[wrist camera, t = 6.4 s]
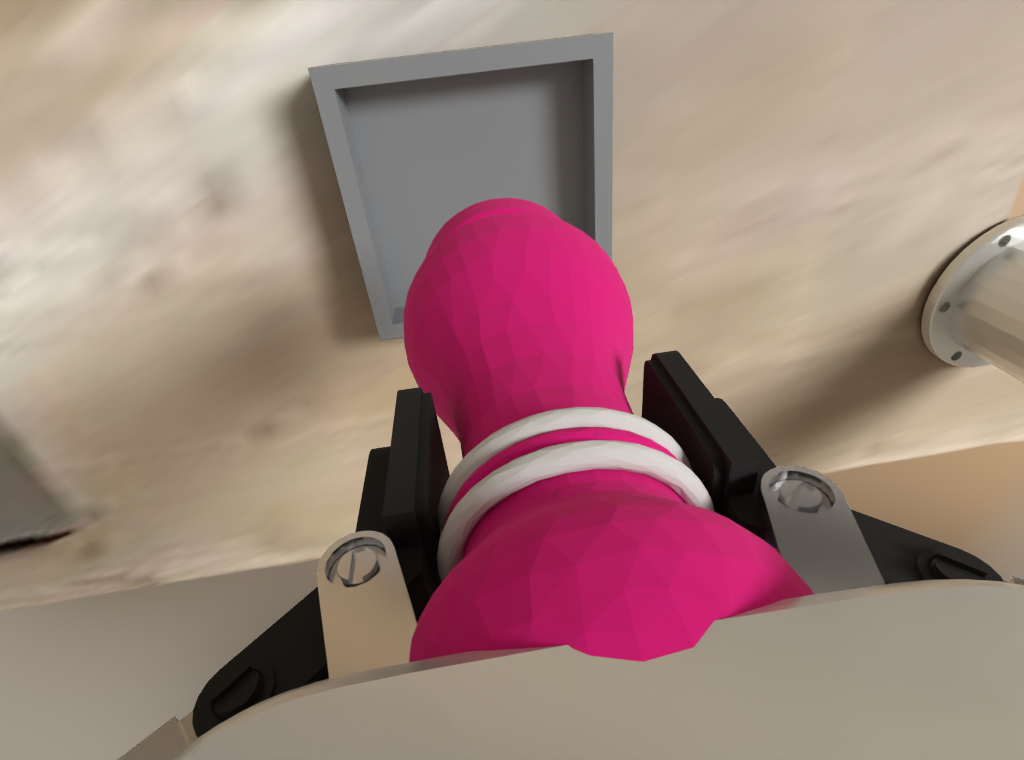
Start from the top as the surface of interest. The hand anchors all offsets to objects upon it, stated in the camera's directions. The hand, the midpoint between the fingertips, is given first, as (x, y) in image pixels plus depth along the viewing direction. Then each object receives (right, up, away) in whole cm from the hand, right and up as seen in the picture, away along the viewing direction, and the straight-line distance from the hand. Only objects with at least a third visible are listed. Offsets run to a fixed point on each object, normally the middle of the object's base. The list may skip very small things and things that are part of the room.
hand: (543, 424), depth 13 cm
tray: (-3, +13, +20) cm, 24 cm away
